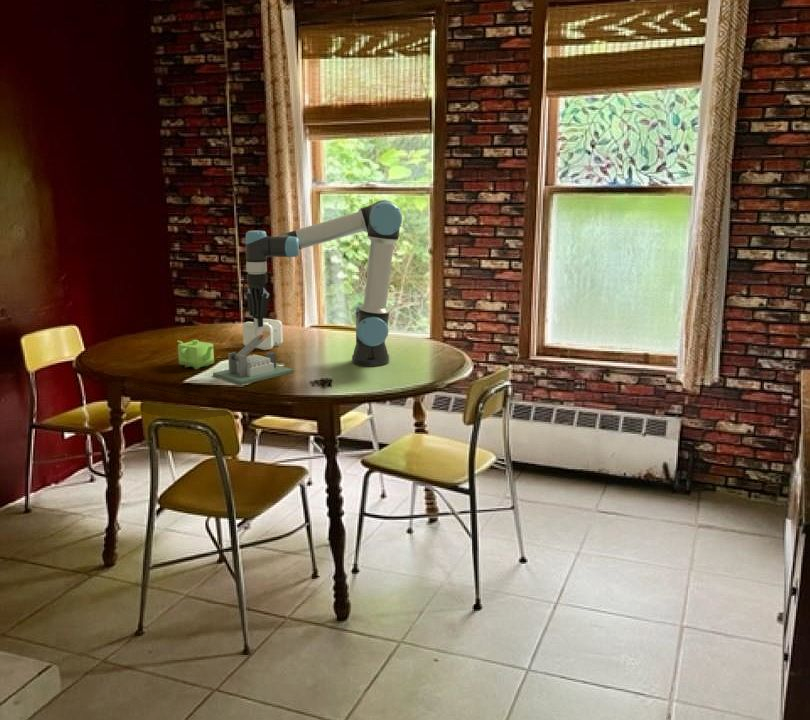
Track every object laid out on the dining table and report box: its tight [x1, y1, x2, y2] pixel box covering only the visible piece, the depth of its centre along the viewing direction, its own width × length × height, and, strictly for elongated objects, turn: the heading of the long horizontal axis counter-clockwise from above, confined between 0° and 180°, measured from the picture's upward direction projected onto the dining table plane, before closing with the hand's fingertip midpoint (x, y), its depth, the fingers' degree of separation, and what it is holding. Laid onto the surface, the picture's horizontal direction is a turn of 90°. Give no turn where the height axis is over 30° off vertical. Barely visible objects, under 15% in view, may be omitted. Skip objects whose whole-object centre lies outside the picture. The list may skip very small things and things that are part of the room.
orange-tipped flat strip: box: [232, 330, 270, 361], centre depth 296 cm, size 5×17×2 cm, turn 138°
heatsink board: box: [212, 351, 294, 386], centre depth 298 cm, size 18×24×9 cm
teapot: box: [176, 339, 215, 370], centre depth 309 cm, size 15×13×11 cm
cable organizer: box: [242, 318, 284, 351], centre depth 342 cm, size 15×11×12 cm
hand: (258, 334), depth 298 cm, fingers closed
